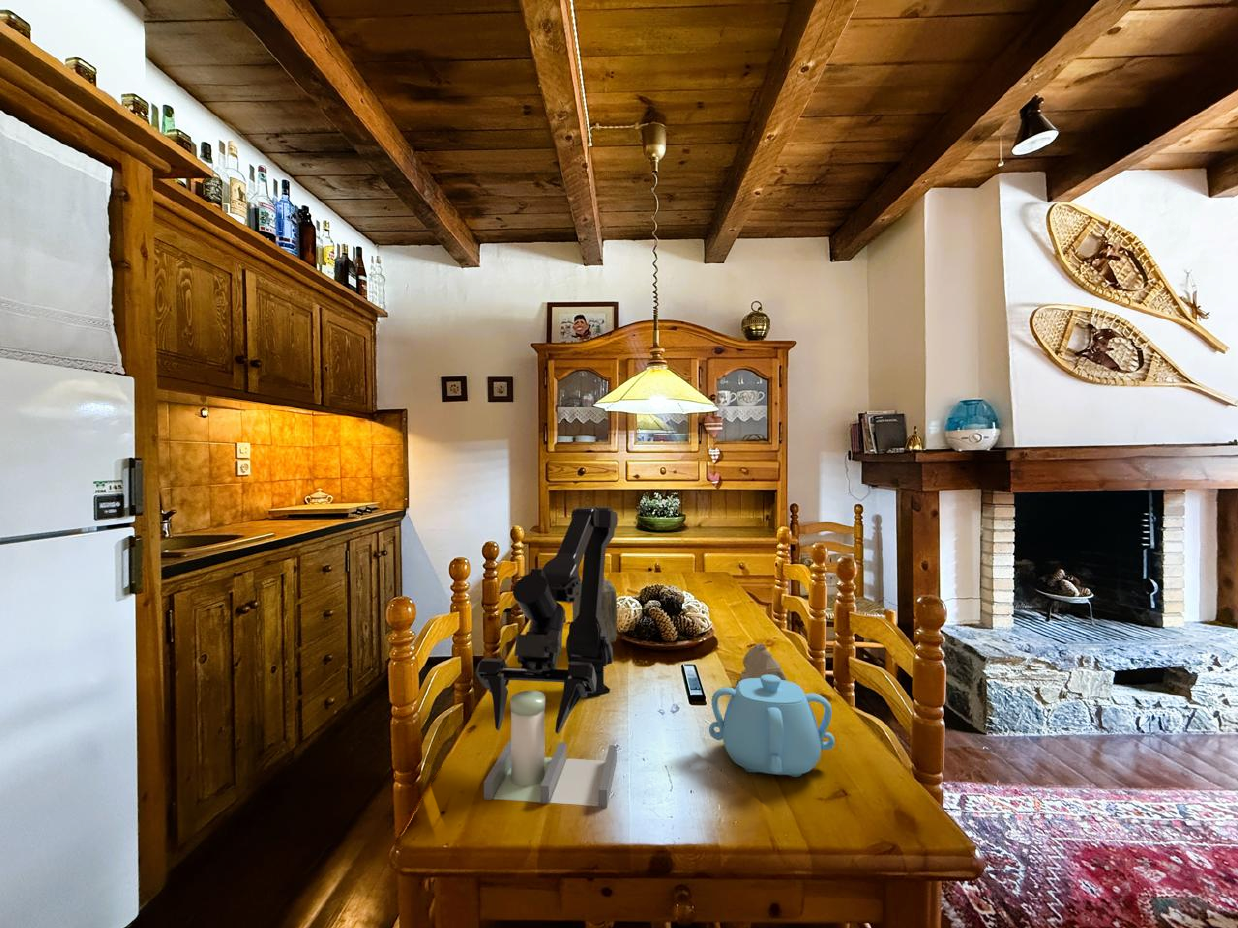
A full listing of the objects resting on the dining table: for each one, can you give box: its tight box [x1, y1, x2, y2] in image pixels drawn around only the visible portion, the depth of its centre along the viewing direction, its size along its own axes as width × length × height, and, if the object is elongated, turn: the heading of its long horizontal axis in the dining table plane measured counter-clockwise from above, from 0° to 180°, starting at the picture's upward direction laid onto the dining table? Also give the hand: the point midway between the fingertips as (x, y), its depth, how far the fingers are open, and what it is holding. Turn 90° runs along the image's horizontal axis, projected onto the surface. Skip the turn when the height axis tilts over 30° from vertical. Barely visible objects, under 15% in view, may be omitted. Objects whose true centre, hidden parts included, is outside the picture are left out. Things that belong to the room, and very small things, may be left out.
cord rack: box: [483, 739, 618, 809], centre depth 83 cm, size 12×18×4 cm
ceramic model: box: [737, 643, 787, 684], centre depth 118 cm, size 14×11×10 cm
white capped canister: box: [509, 690, 546, 787], centre depth 84 cm, size 5×5×12 cm
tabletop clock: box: [572, 577, 618, 643], centre depth 142 cm, size 14×9×25 cm, turn 13°
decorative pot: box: [708, 675, 836, 778], centre depth 91 cm, size 20×20×14 cm
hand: (527, 730), depth 83 cm, fingers open, 9 cm apart
